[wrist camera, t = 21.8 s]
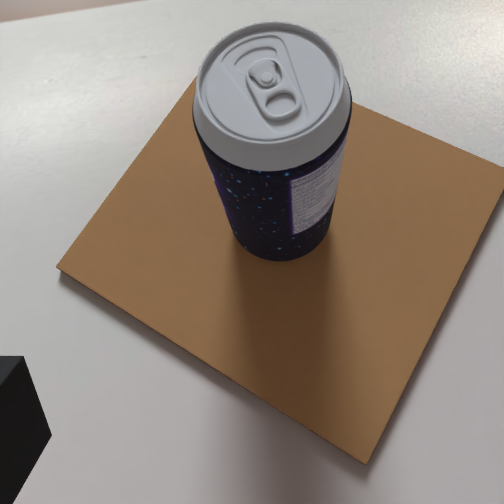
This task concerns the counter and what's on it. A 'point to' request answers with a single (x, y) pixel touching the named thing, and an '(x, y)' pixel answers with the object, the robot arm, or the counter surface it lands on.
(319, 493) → the counter surface
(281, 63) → the beverage can
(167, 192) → the cork mat
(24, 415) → the robot arm
